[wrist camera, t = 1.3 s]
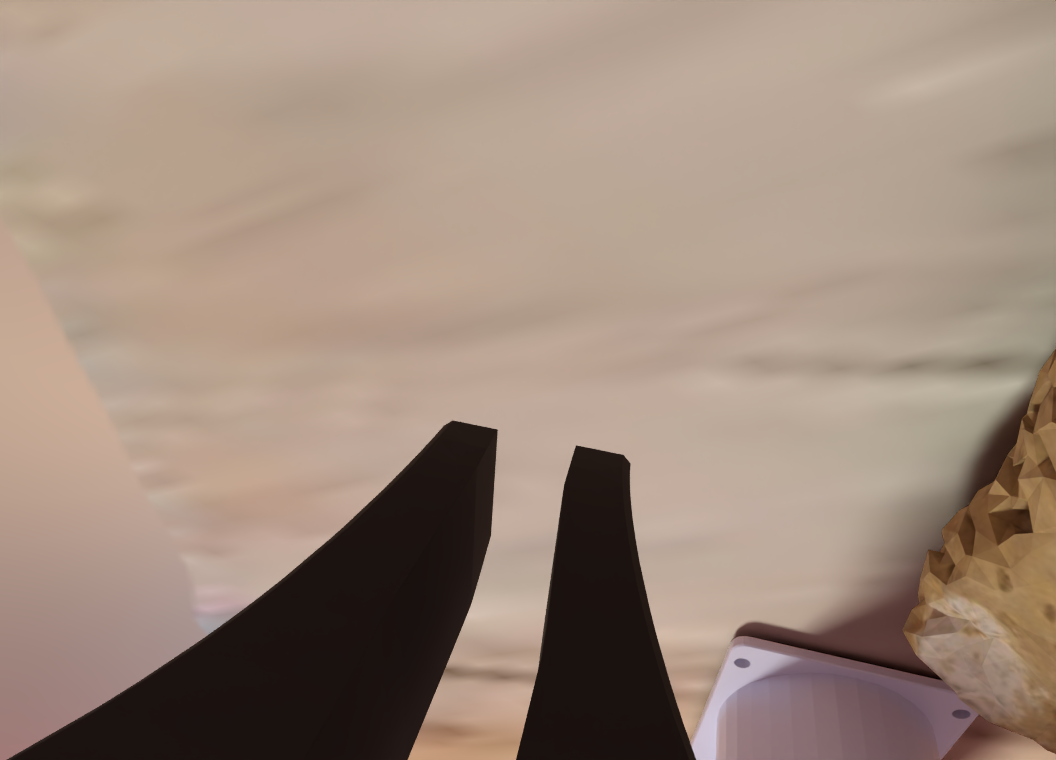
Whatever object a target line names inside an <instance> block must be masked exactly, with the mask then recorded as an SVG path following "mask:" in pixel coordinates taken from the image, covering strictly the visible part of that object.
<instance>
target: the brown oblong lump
mask: <svg viewBox="0 0 1056 760" xmlns="http://www.w3.org/2000/svg"><path fill="white" fill-rule="evenodd" d="M942 536H943V539H944V545H943V547H942V549H941V551H940V552H938V551H933V550H928V553H927V556H926V560H925V563H924V567H923V570H922V574H921V578H920V585H919V591H918V599H919V604H918V605H917V606H916V607H914V608H913V609H912V610H911V612H910V614H909V616H908V619H907V621H906V623H905V626H904V628H903V630H902V631H903V632H904V634H905V636H906V638H907V640H908V642H909V643H910V645H911V647H912V649H913V651H914V652H915V654H916V656H918V657H919V658H920V659H921V660H922V661H923V662H924V663H925V664H926V665H927V666H928V667H929V668H930V669H931V670H932V671H934V672H935V673H936V674H937V675H938V676H939V677H940V678H941V679H942V680H943V681H944V682H945V683H946V684H947V685H949V686H950V687H951V688H952V689H953V690H954V691H955V693H956V695H957V696H958V698H959V699H960V700H961V701H962V702H964V703H965V704H966V705H968V706H969V707H970V708H971V709H973V710H974V711H975V712H976V713H978V714H979V715H980V716H982V717H983V718H984V719H985V720H987V721H988V722H990V723H992V724H995V725H997V726H1000V727H1002V728H1005V729H1008V730H1010V731H1013V732H1015V733H1018V734H1020V735H1023V736H1025V737H1028V738H1030V739H1033V740H1034V741H1036V742H1037V743H1038V744H1040V745H1041V746H1042V747H1043V748H1045V749H1046V750H1048V751H1050V752H1053V753H1055V754H1056V349H1055V351H1054V352H1053V354H1052V355H1051V356H1050V358H1049V359H1048V360H1047V362H1046V363H1045V365H1044V366H1043V367H1042V369H1041V370H1040V372H1039V375H1038V378H1037V381H1036V385H1035V388H1034V391H1033V394H1032V397H1031V400H1030V403H1029V407H1028V411H1027V414H1026V415H1025V416H1024V417H1023V418H1022V421H1021V426H1020V430H1019V435H1018V440H1017V444H1016V445H1015V446H1014V447H1013V448H1012V450H1011V451H1010V452H1009V453H1008V455H1007V457H1006V459H1005V461H1004V463H1003V465H1002V467H1001V469H1000V471H999V473H998V475H997V477H996V479H995V481H994V482H992V483H991V484H989V485H987V486H985V487H984V488H982V489H980V490H978V492H977V493H976V495H975V496H974V498H973V499H972V501H971V503H970V504H969V506H967V507H965V508H963V509H961V510H959V511H958V512H957V514H956V515H955V516H954V517H953V518H952V519H951V520H950V521H949V523H948V524H947V525H946V526H945V527H944V528H943V530H942Z"/></svg>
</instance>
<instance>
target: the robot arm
mask: <svg viewBox="0 0 1056 760" xmlns="http://www.w3.org/2000/svg"><path fill="white" fill-rule="evenodd" d="M497 431H498V430H497V429H492V428H487V427H482V426H477V425H472V424H467V423H462V422H457V421H451V422H450V423H448V424H446V425H444V426H443V428H442V429H441V430H440V431H439V432H438V433H437V434H436V435H435V437H434V438H433V439H432V440H431V441H430V442H429V443H428V444H427V445H426V446H425V447H424V448H423V450H422V451H421V452H420V453H419V454H418V455H417V456H416V457H415V458H414V459H413V460H412V461H411V462H410V463H409V464H408V465H407V466H406V467H405V468H404V469H403V470H402V471H401V472H400V473H399V474H398V475H397V476H396V477H395V478H394V479H393V480H392V481H391V482H390V483H389V484H388V485H387V486H386V487H385V488H384V489H383V490H382V491H381V492H380V493H379V494H378V495H377V496H376V497H375V498H374V499H373V500H372V501H371V502H370V503H369V504H367V505H366V506H365V507H364V508H363V509H362V510H361V511H360V512H359V513H358V514H357V515H356V516H355V517H354V518H353V519H352V520H350V521H349V522H348V523H347V524H346V525H345V526H344V527H343V528H342V529H341V530H340V531H338V532H337V533H336V534H335V535H334V536H333V537H332V538H331V539H329V540H328V541H327V542H326V543H325V544H323V545H322V546H321V547H320V548H319V549H318V550H316V551H315V552H314V553H313V554H312V555H310V556H309V557H308V558H307V559H306V560H305V561H303V562H302V563H301V564H300V565H299V566H297V567H296V568H295V569H294V570H293V571H292V572H290V573H289V574H288V575H287V576H286V577H284V578H283V579H282V580H281V581H279V582H278V583H277V584H276V585H274V586H273V587H272V588H271V589H269V590H268V591H267V592H265V593H264V594H263V595H262V596H260V597H259V598H258V599H256V600H255V601H254V602H253V603H251V604H250V605H249V606H247V607H246V608H245V609H243V610H242V611H241V612H239V613H238V614H237V615H235V616H234V617H232V618H231V619H230V620H228V621H227V622H226V623H224V624H223V625H221V626H220V627H219V628H217V629H216V630H214V631H213V632H212V633H210V634H209V635H208V636H206V637H205V638H203V639H202V640H200V641H199V642H198V643H196V644H195V645H193V646H192V647H190V648H189V649H187V650H186V651H184V652H183V653H181V654H180V655H178V656H177V657H175V658H174V659H172V660H171V661H169V662H168V663H166V664H165V665H163V666H162V667H160V668H159V669H157V670H156V671H154V672H153V673H151V674H150V675H148V676H147V677H145V678H144V679H142V680H141V681H139V682H137V683H136V684H135V685H133V686H131V687H130V688H128V689H127V690H125V691H123V692H122V693H120V694H118V695H117V696H115V697H114V698H112V699H111V700H109V701H107V702H106V703H104V704H102V705H101V706H99V707H97V708H96V709H94V710H92V711H91V712H89V713H87V714H85V715H84V716H82V717H80V718H78V719H77V720H75V721H73V722H71V723H70V724H68V725H66V726H65V727H63V728H61V729H59V730H58V731H56V732H54V733H52V734H51V735H49V736H47V737H46V738H44V739H42V740H40V741H39V742H37V743H35V744H33V745H32V746H30V747H28V748H26V749H25V750H23V751H21V752H19V753H18V754H16V755H14V756H13V757H11V758H9V759H7V760H408V757H409V755H410V752H411V750H412V747H413V745H414V743H415V740H416V738H417V735H418V733H419V730H420V728H421V726H422V723H423V721H424V718H425V716H426V713H427V711H428V709H429V706H430V704H431V701H432V699H433V696H434V694H435V692H436V689H437V687H438V684H439V682H440V679H441V677H442V675H443V672H444V670H445V667H446V665H447V663H448V660H449V658H450V655H451V653H452V650H453V648H454V645H455V643H456V640H457V638H458V636H459V633H460V631H461V628H462V626H463V623H464V621H465V618H466V616H467V613H468V611H469V608H470V606H471V603H472V599H473V596H474V593H475V589H476V586H477V582H478V579H479V576H480V572H481V569H482V565H483V562H484V558H485V554H486V551H487V547H488V544H489V540H490V537H491V525H492V510H493V494H494V478H495V462H496V447H497ZM978 715H979V714H978V713H976V712H975V711H974V710H973V709H971V708H970V707H969V706H968V705H966V704H965V703H964V702H962V701H961V700H960V699H959V698H958V696H957V695H956V693H955V691H954V690H953V689H952V688H951V687H950V686H949V685H947V684H946V683H945V682H944V681H942V680H938V679H933V678H929V677H925V676H920V675H916V674H911V673H907V672H903V671H898V670H894V669H889V668H885V667H881V666H876V665H872V664H868V663H863V662H859V661H854V660H850V659H846V658H841V657H837V656H832V655H828V654H824V653H819V652H815V651H811V650H806V649H802V648H797V647H793V646H789V645H784V644H780V643H775V642H771V641H767V640H762V639H758V638H754V637H749V636H739V637H737V638H735V639H733V640H732V641H731V643H730V645H729V648H728V650H727V653H726V655H725V658H724V660H723V663H722V665H721V668H720V670H719V672H718V675H717V677H716V680H715V682H714V685H713V687H712V690H711V692H710V695H709V697H708V700H707V702H706V705H705V707H704V709H703V712H702V714H701V717H700V719H699V722H698V724H697V727H696V729H695V732H694V734H693V737H692V739H691V742H690V741H689V738H688V735H687V732H686V730H685V727H684V724H683V721H682V718H681V715H680V712H679V709H678V706H677V703H676V700H675V697H674V693H673V690H672V687H671V684H670V681H669V677H668V674H667V670H666V667H665V664H664V660H663V657H662V653H661V650H660V646H659V643H658V639H657V635H656V632H655V628H654V624H653V620H652V616H651V612H650V608H649V603H648V599H647V594H646V590H645V585H644V581H643V576H642V571H641V567H640V562H639V557H638V551H637V546H636V539H635V532H634V525H633V518H632V509H631V498H630V463H629V461H628V460H627V459H626V458H625V456H624V455H621V454H616V453H611V452H606V451H601V450H596V449H591V448H586V447H581V446H576V448H575V451H574V454H573V457H572V461H571V464H570V467H569V471H568V474H567V478H566V481H565V484H564V490H563V497H562V504H561V511H560V518H559V525H558V532H557V539H556V546H555V553H554V560H553V567H552V574H551V581H550V588H549V595H548V602H547V609H546V615H545V623H544V630H543V638H542V645H541V653H540V661H539V668H538V673H537V677H536V681H535V685H534V689H533V693H532V697H531V701H530V706H529V710H528V714H527V718H526V722H525V726H524V730H523V734H522V738H521V742H520V746H519V750H518V754H517V758H516V760H941V759H942V758H943V757H944V756H945V755H946V753H947V752H948V751H949V750H950V749H951V747H952V746H953V745H954V744H955V743H956V741H957V740H958V739H959V738H960V737H961V735H962V734H963V733H964V732H965V731H966V729H967V728H968V727H969V726H970V725H971V723H972V722H973V721H974V720H975V719H976V717H977V716H978Z"/></svg>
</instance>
